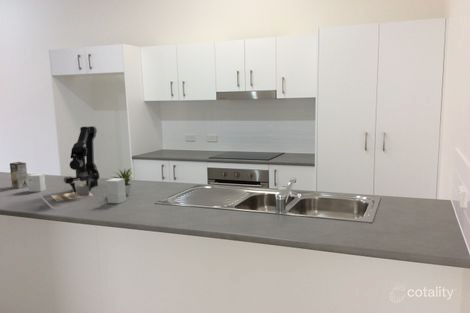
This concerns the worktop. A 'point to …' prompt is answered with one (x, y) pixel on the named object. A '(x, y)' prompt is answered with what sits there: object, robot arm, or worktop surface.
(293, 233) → the worktop surface
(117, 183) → the supplement box
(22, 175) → the coffee box
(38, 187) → the small box
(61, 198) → the board
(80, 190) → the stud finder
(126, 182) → the house plant
